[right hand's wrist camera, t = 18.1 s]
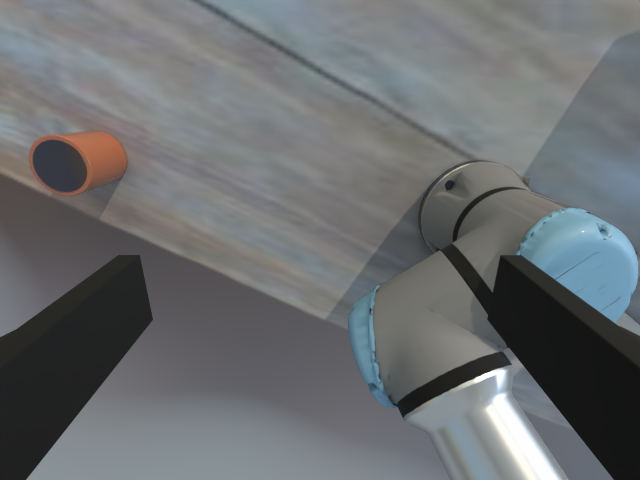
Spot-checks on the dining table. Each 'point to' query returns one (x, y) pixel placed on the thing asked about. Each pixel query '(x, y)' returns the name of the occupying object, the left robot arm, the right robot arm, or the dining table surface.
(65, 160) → the terracotta pot
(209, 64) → the dining table surface
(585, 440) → the right robot arm
